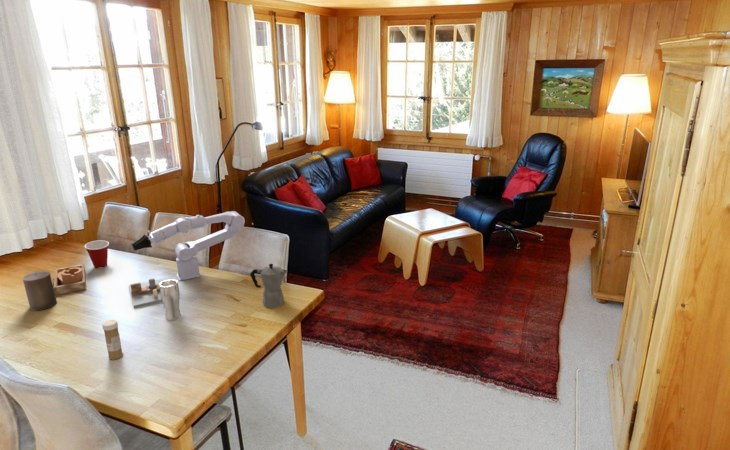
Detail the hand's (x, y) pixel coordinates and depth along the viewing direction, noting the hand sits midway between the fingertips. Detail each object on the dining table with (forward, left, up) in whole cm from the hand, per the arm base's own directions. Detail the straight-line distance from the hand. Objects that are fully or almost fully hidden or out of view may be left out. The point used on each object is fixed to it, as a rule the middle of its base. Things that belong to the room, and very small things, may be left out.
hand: (133, 247), depth 216 cm
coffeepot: (-47, +45, -19) cm, 68 cm away
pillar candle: (+37, -1, -19) cm, 42 cm away
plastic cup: (+14, -35, -19) cm, 43 cm away
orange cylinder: (+27, -21, -19) cm, 39 cm away
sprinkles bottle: (+13, +56, -19) cm, 61 cm away
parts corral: (+27, -21, -19) cm, 40 cm away
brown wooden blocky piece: (-2, +10, -18) cm, 20 cm away
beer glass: (-9, +37, -19) cm, 43 cm away
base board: (-5, +10, -19) cm, 22 cm away
